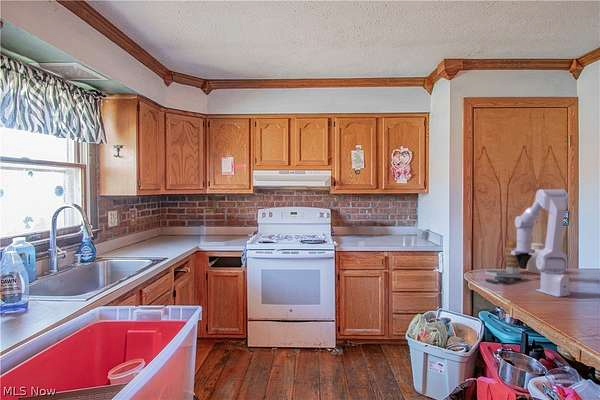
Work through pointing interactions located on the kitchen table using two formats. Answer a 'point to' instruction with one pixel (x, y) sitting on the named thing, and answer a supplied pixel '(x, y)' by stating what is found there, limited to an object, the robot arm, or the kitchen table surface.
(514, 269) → the block
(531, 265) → the pill bottle
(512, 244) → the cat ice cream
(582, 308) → the kitchen table surface
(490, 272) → the beam
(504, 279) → the stand
